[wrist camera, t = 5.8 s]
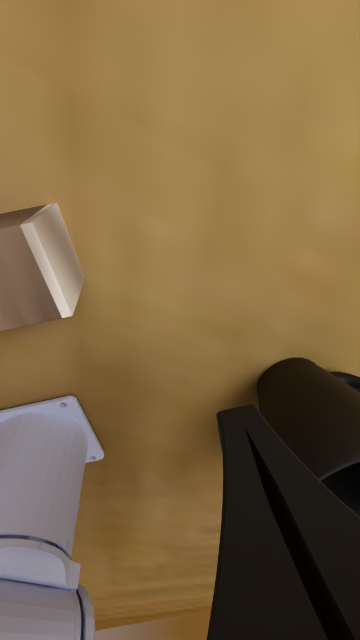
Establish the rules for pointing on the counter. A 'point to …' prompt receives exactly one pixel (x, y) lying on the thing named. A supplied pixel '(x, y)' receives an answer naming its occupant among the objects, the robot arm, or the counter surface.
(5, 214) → the walnut block
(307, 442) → the mug
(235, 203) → the counter surface
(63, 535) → the robot arm
